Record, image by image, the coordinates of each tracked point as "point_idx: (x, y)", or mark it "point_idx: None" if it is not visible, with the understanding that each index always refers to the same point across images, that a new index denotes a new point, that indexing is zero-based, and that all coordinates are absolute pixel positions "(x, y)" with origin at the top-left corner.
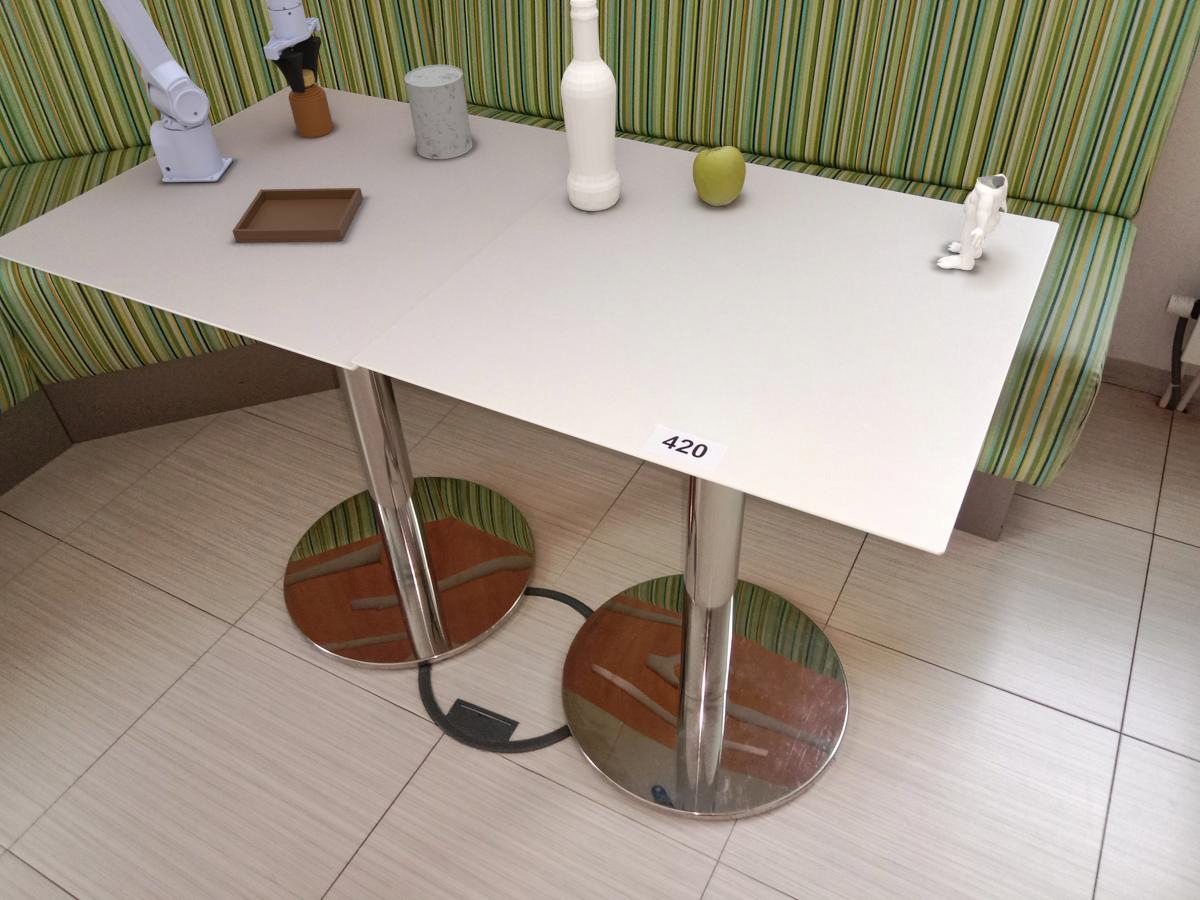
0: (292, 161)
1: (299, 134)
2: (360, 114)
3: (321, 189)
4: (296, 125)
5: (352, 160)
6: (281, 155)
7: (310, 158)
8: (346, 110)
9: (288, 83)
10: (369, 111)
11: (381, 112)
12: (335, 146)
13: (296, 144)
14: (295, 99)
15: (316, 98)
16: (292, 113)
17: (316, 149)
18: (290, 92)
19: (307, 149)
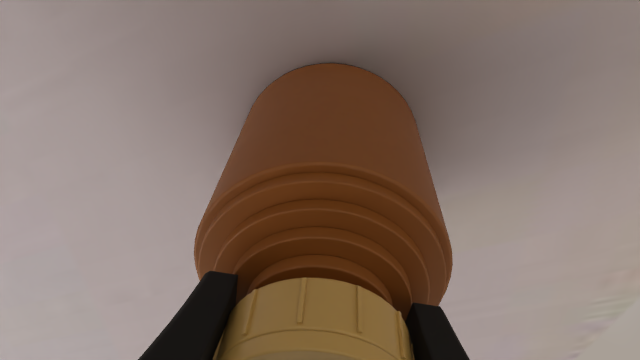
0: (11, 151)
1: (260, 96)
2: (494, 271)
3: None
4: (256, 109)
5: (105, 328)
6: (40, 82)
7: (65, 209)
8: (555, 211)
9: (173, 318)
10: (520, 292)
11: (500, 328)
12: (188, 261)
13: (167, 110)
14: (201, 248)
15: None
16: (267, 121)
17: (145, 207)
18: (310, 186)
19: (134, 174)
